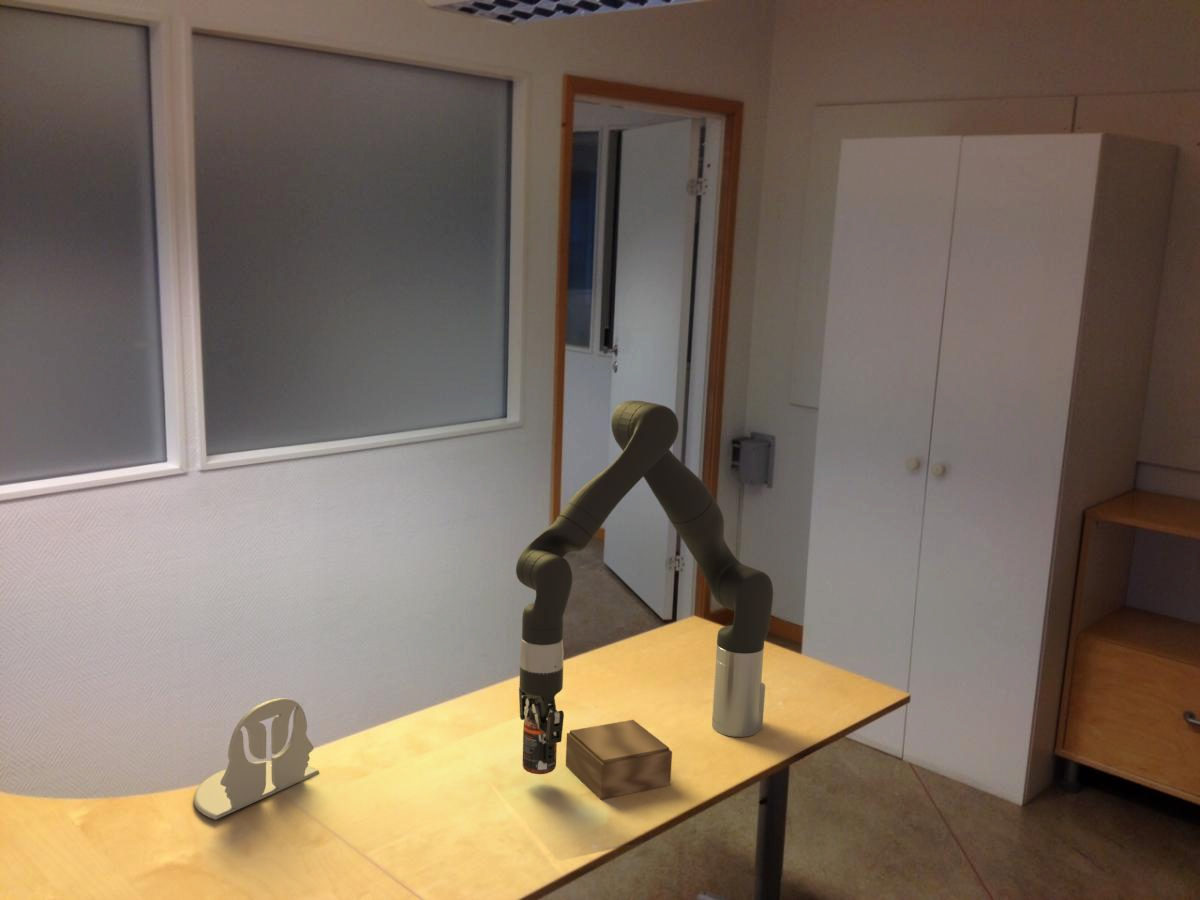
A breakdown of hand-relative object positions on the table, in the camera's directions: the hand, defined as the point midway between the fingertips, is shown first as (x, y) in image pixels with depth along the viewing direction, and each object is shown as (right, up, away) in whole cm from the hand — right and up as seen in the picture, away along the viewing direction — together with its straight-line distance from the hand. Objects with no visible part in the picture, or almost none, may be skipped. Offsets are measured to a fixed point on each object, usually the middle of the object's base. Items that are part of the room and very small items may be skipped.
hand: (539, 754), depth 195 cm
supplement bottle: (0, -3, 0) cm, 3 cm away
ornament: (-51, -5, -3) cm, 51 cm away
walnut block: (+14, -6, +6) cm, 16 cm away
